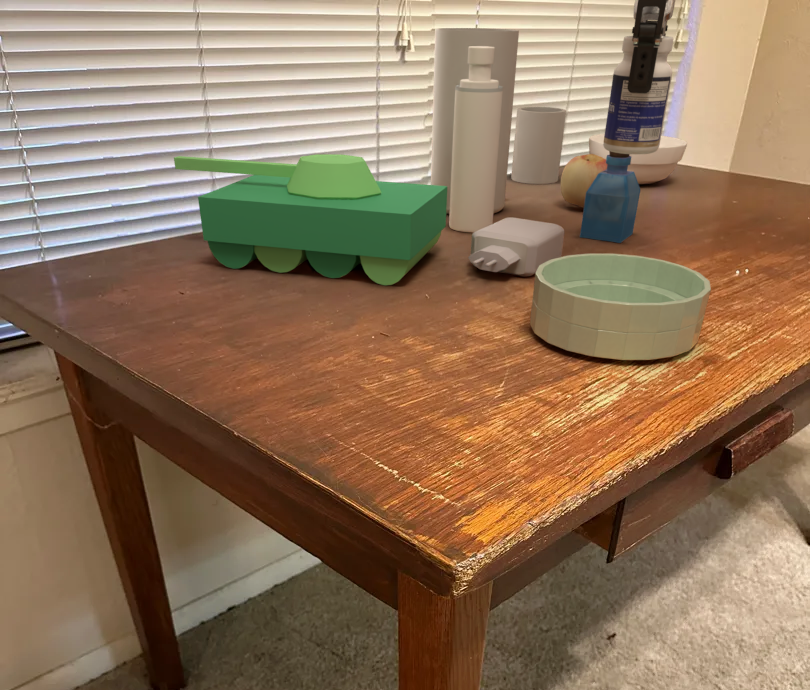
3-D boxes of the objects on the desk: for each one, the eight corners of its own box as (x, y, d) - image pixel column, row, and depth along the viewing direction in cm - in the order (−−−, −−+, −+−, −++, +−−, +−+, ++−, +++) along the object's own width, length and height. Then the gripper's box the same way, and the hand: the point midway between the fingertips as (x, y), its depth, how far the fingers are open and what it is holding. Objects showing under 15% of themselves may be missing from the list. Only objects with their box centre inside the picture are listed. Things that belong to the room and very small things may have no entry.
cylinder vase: (432, 199, 133) (437, 27, 118) (503, 201, 132) (517, 28, 117) (427, 215, 123) (432, 30, 108) (504, 218, 122) (520, 31, 107)
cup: (521, 184, 144) (528, 113, 137) (504, 175, 151) (510, 107, 144) (565, 183, 146) (574, 112, 139) (546, 174, 153) (554, 106, 146)
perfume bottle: (620, 243, 110) (636, 151, 103) (579, 237, 113) (592, 147, 106) (632, 234, 115) (648, 145, 108) (593, 228, 117) (606, 142, 110)
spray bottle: (451, 221, 120) (460, 31, 105) (493, 223, 119) (508, 32, 104) (446, 231, 114) (455, 33, 100) (490, 233, 114) (505, 34, 99)
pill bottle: (606, 144, 82) (623, 34, 76) (660, 148, 80) (681, 36, 74) (598, 152, 77) (615, 36, 72) (655, 156, 76) (677, 38, 70)
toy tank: (206, 139, 106) (448, 154, 98) (217, 231, 113) (444, 252, 105) (135, 159, 92) (411, 178, 84) (153, 262, 99) (409, 289, 91)
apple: (583, 200, 133) (591, 150, 129) (621, 210, 127) (630, 158, 123) (546, 206, 129) (552, 154, 125) (583, 216, 123) (591, 162, 119)
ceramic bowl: (716, 327, 82) (730, 271, 79) (665, 380, 70) (679, 317, 67) (569, 297, 90) (576, 245, 86) (501, 340, 78) (507, 282, 75)
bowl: (627, 169, 158) (633, 130, 154) (698, 184, 146) (708, 142, 142) (564, 177, 150) (569, 137, 146) (634, 194, 138) (642, 150, 134)
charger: (446, 278, 95) (499, 251, 106) (512, 291, 91) (560, 262, 102) (448, 239, 92) (502, 215, 103) (516, 250, 89) (565, 225, 99)
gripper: (725, -149, 59) (677, 98, 69) (722, -125, 70) (681, 85, 80) (628, -146, 61) (594, 95, 71) (639, -123, 72) (609, 82, 82)
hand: (640, 89), depth 76 cm, fingers closed on pill bottle, 5 cm apart
